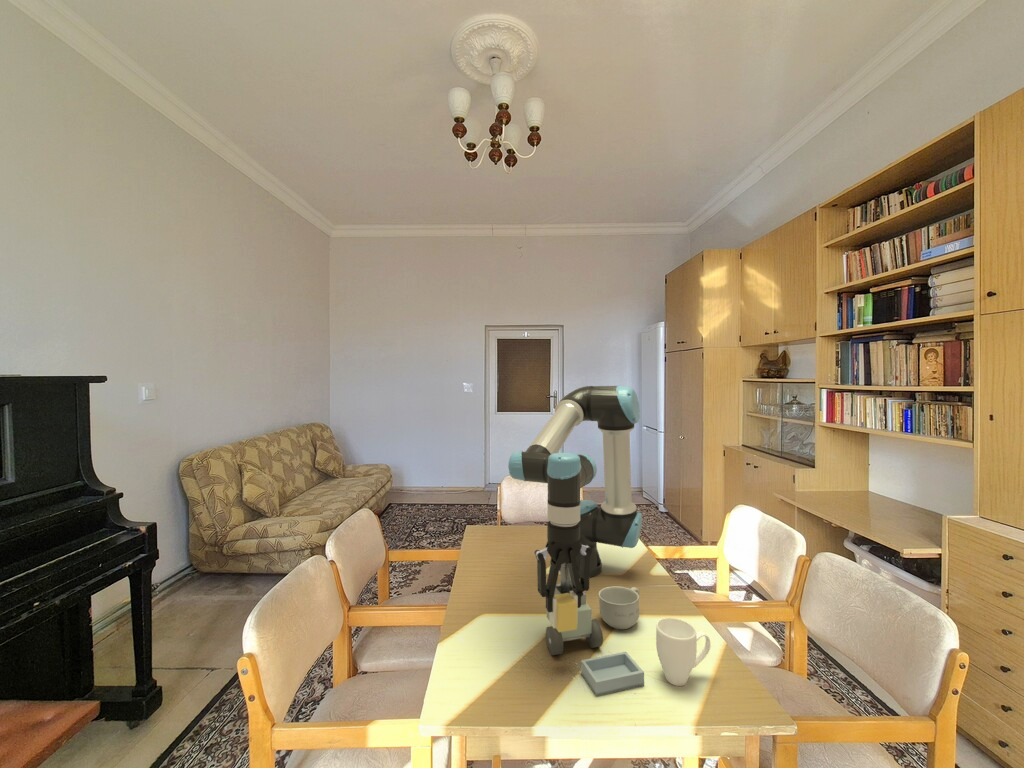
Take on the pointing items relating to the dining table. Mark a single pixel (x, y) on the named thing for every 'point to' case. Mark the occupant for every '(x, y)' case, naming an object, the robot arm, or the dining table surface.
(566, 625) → the block
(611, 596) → the teacup
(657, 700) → the dining table surface
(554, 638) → the trolley
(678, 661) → the mug
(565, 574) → the flashlight
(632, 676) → the tray
